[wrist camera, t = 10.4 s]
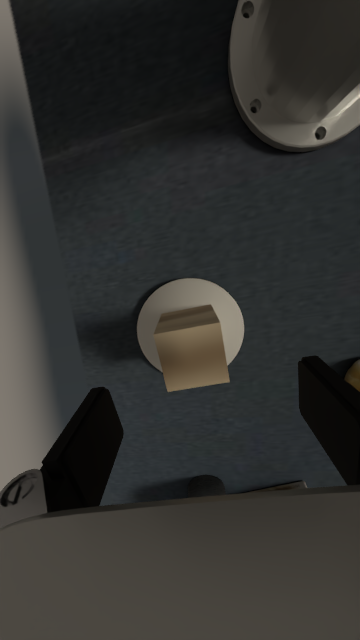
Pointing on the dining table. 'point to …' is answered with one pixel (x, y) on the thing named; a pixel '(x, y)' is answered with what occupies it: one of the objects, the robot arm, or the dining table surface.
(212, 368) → the block
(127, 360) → the dining table surface
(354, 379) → the pastry
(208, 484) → the tin
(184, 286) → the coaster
